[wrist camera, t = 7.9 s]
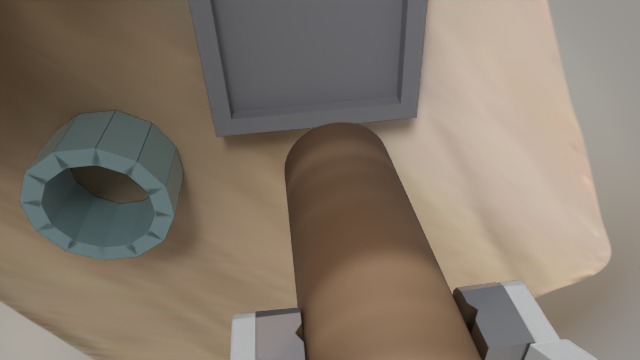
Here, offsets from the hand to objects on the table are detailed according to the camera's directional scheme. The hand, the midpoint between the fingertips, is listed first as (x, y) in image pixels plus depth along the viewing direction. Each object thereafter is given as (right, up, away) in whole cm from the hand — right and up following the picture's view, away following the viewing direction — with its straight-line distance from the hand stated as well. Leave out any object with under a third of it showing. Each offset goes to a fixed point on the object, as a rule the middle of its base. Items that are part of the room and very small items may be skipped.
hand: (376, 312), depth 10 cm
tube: (-16, +4, +23) cm, 29 cm away
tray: (-2, +14, +18) cm, 23 cm away
